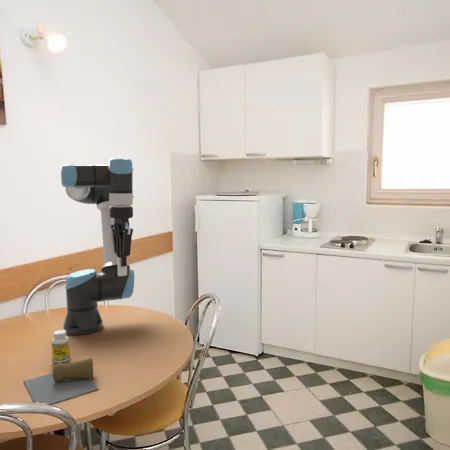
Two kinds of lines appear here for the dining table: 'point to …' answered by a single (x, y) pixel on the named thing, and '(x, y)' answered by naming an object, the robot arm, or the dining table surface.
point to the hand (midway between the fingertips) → (122, 275)
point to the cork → (73, 370)
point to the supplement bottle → (60, 347)
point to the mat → (57, 388)
